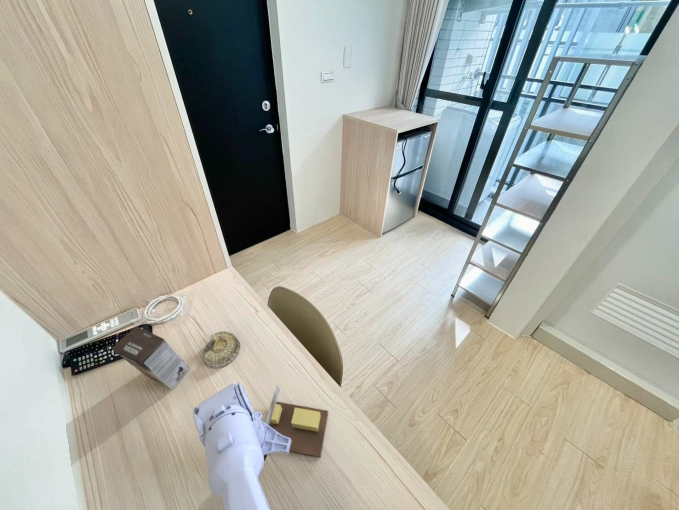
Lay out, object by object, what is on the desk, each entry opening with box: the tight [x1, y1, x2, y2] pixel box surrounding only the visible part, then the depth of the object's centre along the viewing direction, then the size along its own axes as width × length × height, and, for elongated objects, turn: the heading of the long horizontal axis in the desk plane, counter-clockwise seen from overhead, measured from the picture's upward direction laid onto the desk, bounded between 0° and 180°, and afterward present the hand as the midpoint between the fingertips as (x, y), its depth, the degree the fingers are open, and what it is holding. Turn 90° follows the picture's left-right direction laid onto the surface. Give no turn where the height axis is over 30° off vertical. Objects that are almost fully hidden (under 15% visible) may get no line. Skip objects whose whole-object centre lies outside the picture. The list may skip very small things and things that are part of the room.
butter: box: [291, 408, 321, 432], centre depth 61 cm, size 3×6×3 cm, turn 81°
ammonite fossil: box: [202, 330, 241, 369], centre depth 74 cm, size 10×10×5 cm
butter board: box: [269, 401, 329, 458], centre depth 62 cm, size 9×13×1 cm
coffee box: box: [111, 326, 191, 391], centre depth 66 cm, size 9×6×16 cm
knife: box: [264, 385, 281, 424], centre depth 56 cm, size 15×2×3 cm, turn 171°
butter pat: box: [270, 404, 282, 424], centre depth 62 cm, size 3×2×3 cm, turn 171°
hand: (259, 448), depth 53 cm, fingers closed on knife, 2 cm apart
